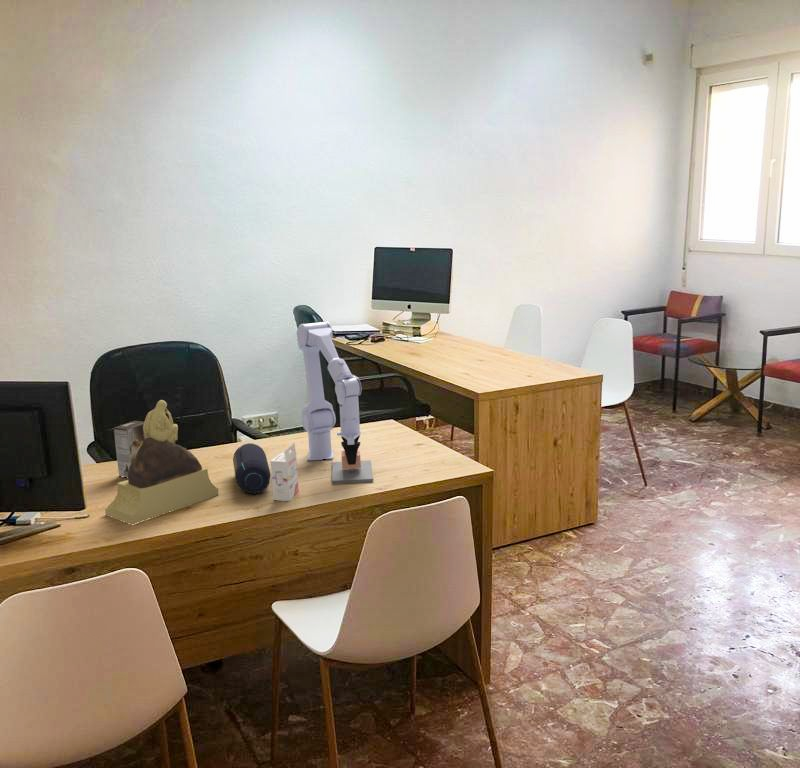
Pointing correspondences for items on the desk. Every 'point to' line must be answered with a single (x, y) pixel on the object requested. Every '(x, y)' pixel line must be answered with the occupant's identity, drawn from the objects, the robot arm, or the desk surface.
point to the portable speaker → (251, 468)
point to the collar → (345, 463)
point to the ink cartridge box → (285, 475)
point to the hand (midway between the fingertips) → (351, 461)
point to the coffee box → (128, 444)
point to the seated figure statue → (160, 474)
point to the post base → (352, 473)
